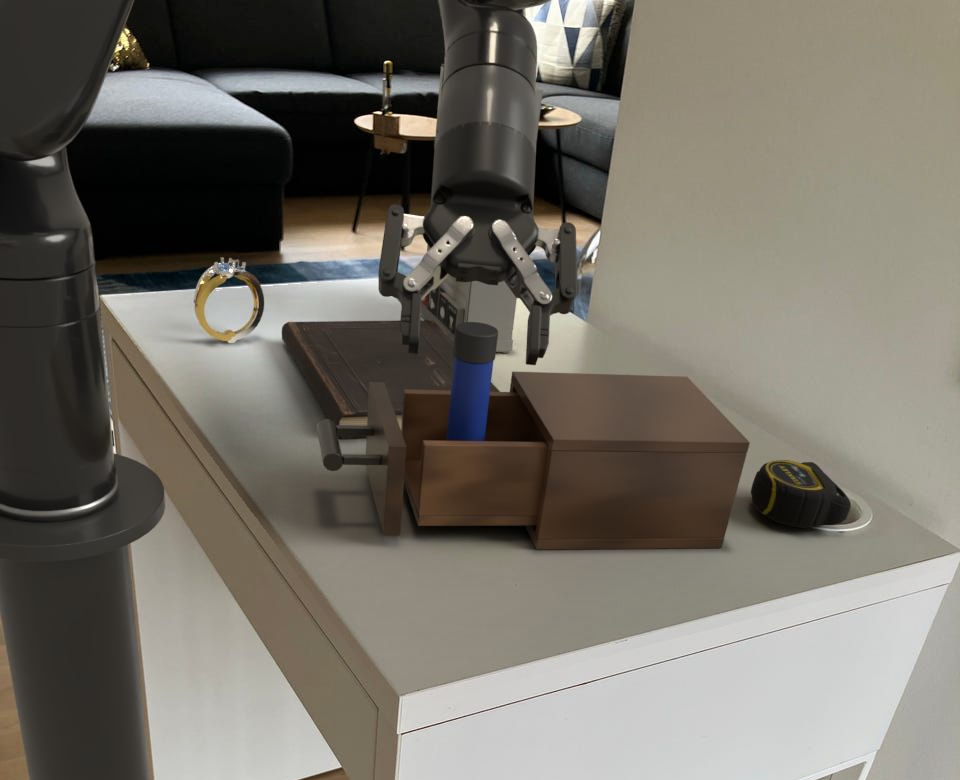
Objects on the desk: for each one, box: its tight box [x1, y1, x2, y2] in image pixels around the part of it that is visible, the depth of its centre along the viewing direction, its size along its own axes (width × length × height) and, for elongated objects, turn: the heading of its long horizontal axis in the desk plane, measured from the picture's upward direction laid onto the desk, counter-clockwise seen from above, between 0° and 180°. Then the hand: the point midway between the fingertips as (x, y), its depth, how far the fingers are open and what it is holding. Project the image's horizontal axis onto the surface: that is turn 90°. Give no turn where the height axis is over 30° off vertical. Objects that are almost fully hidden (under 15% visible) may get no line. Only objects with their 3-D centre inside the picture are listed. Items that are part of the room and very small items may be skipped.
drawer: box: [316, 382, 549, 536], centre depth 79 cm, size 18×12×7 cm, turn 101°
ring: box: [193, 257, 265, 344], centre depth 104 cm, size 7×3×8 cm, turn 120°
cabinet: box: [509, 371, 751, 550], centre depth 82 cm, size 15×13×9 cm
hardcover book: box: [281, 319, 501, 440], centre depth 100 cm, size 16×23×2 cm
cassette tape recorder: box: [421, 63, 544, 354], centre depth 109 cm, size 14×6×25 cm, turn 21°
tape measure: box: [750, 459, 852, 529], centre depth 86 cm, size 7×7×4 cm
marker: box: [446, 322, 498, 441], centre depth 77 cm, size 3×3×12 cm
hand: (473, 355), depth 76 cm, fingers open, 8 cm apart
